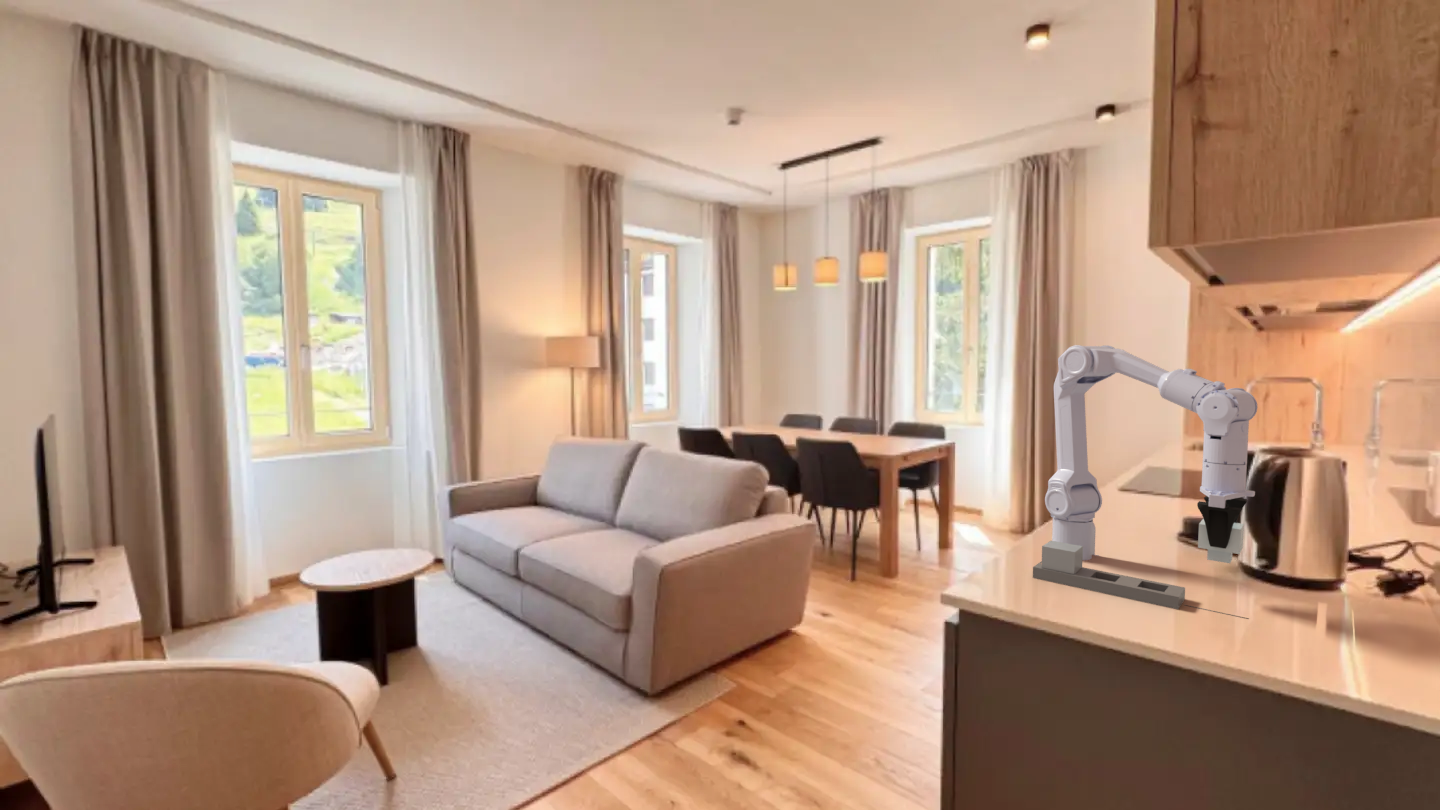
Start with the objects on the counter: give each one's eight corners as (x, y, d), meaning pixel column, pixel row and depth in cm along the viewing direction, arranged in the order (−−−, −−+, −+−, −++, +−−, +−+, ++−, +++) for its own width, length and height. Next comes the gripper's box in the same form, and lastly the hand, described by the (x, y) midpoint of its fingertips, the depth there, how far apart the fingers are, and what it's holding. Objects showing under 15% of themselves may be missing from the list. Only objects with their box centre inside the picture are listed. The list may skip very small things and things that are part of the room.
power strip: (1043, 574, 122) (1044, 538, 121) (1250, 619, 100) (1252, 575, 100) (1032, 582, 117) (1033, 545, 117) (1246, 630, 96) (1248, 585, 96)
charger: (1201, 552, 109) (1203, 518, 109) (1242, 559, 106) (1243, 523, 105) (1197, 559, 106) (1198, 523, 105) (1239, 566, 102) (1240, 529, 102)
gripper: (1251, 470, 97) (1247, 558, 98) (1260, 459, 107) (1256, 539, 108) (1194, 465, 102) (1190, 549, 103) (1207, 455, 112) (1204, 531, 113)
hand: (1220, 543), depth 106 cm, fingers closed on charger, 5 cm apart
